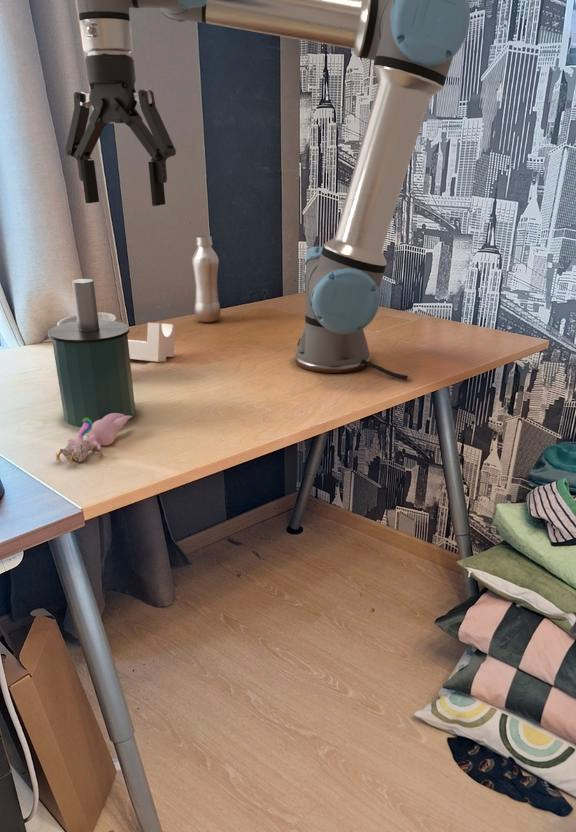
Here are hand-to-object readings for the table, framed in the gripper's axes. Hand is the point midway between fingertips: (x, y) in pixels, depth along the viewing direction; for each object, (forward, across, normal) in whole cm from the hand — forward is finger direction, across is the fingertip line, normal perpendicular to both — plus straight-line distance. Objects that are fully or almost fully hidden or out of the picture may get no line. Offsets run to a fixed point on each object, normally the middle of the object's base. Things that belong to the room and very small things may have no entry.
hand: (125, 204), depth 121 cm
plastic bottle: (+32, -15, +48) cm, 60 cm away
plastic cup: (+32, -10, -2) cm, 34 cm away
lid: (+17, +3, -17) cm, 25 cm away
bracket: (+32, -12, +15) cm, 37 cm away
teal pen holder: (+32, +3, -17) cm, 36 cm away
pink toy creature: (+32, +11, -28) cm, 44 cm away
